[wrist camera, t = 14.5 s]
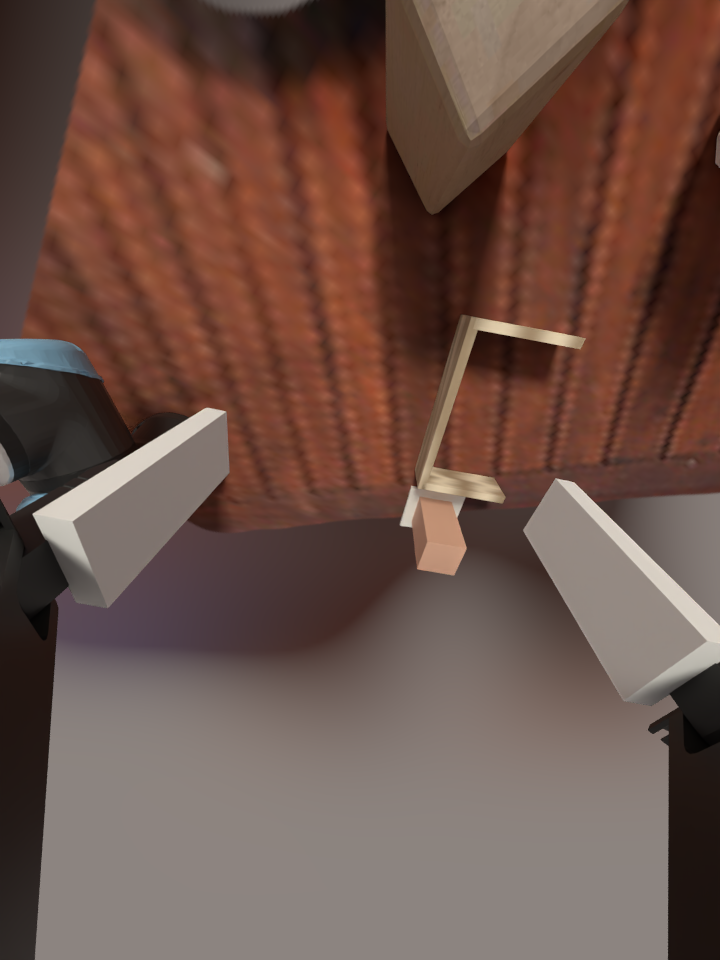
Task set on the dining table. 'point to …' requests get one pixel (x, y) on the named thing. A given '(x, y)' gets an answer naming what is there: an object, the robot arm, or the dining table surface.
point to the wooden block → (477, 79)
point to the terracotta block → (437, 536)
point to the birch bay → (445, 399)
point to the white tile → (417, 493)
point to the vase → (718, 151)
